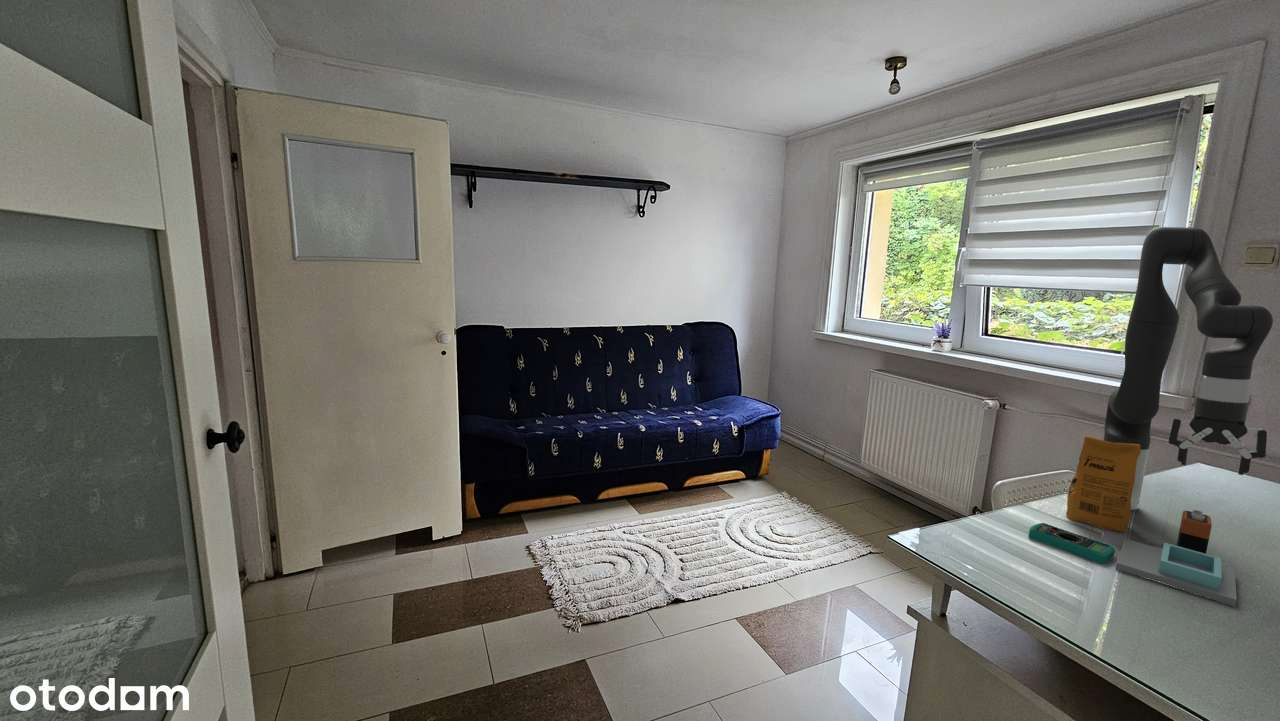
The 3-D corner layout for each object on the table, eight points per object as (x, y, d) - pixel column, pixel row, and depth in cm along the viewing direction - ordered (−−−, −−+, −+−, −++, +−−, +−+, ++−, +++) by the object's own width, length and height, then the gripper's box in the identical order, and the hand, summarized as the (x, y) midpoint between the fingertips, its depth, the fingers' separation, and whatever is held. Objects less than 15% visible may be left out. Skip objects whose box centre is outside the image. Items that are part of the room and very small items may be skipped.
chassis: (1115, 569, 111) (1118, 551, 110) (1124, 544, 121) (1127, 528, 121) (1235, 607, 98) (1239, 587, 98) (1233, 576, 109) (1237, 558, 108)
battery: (1176, 555, 117) (1184, 514, 115) (1176, 545, 122) (1183, 505, 120) (1204, 563, 114) (1213, 521, 112) (1203, 552, 119) (1211, 512, 117)
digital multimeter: (1037, 530, 129) (1039, 519, 128) (1115, 557, 116) (1117, 545, 116) (1024, 538, 125) (1026, 527, 124) (1104, 567, 112) (1106, 554, 112)
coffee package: (1066, 507, 141) (1079, 430, 138) (1128, 523, 133) (1143, 441, 129) (1062, 519, 134) (1075, 437, 131) (1127, 536, 126) (1143, 449, 122)
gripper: (1174, 395, 115) (1164, 465, 117) (1275, 405, 105) (1262, 482, 107) (1175, 390, 120) (1166, 457, 122) (1272, 400, 110) (1260, 473, 112)
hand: (1211, 469), depth 115 cm, fingers open, 8 cm apart
